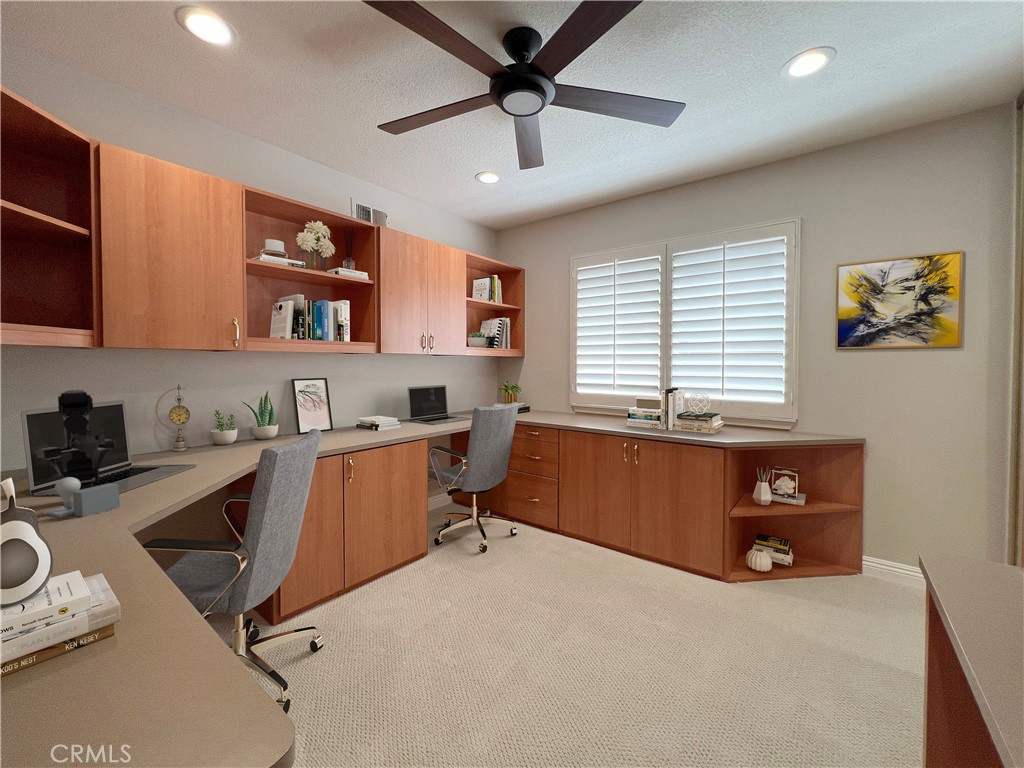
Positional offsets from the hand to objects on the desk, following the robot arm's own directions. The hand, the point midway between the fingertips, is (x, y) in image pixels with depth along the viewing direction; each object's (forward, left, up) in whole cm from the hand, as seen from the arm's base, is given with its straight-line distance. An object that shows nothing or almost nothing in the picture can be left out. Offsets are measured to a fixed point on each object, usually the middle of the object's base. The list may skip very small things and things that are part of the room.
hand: (80, 472), depth 148 cm
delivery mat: (0, -3, -13) cm, 13 cm away
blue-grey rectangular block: (+8, 0, -13) cm, 15 cm away
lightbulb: (0, -3, -12) cm, 12 cm away
